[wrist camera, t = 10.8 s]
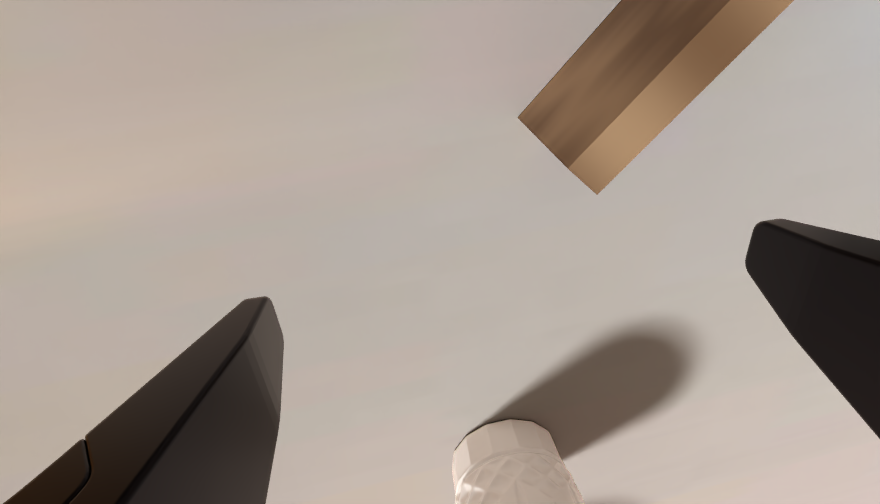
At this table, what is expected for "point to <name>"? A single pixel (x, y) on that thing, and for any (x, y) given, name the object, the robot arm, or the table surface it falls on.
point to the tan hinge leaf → (639, 78)
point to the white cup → (511, 467)
